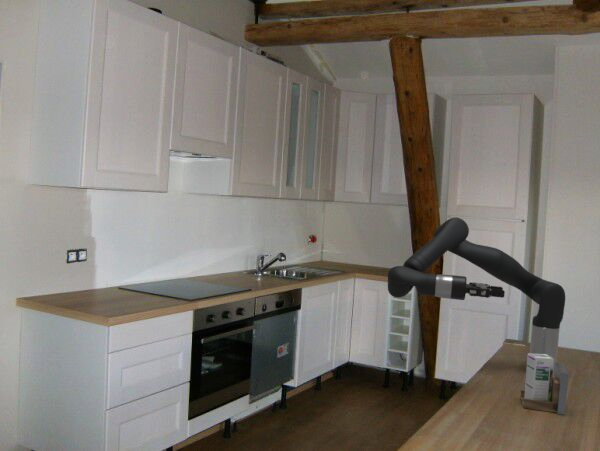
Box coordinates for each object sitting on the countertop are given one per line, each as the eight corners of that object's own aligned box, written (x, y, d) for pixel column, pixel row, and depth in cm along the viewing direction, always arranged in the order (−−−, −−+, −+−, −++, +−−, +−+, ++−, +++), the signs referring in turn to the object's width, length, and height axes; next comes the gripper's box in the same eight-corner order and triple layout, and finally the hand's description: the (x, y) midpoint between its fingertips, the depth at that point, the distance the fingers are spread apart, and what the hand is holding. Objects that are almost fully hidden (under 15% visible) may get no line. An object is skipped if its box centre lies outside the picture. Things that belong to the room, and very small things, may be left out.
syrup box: (531, 405, 190) (536, 357, 189) (523, 399, 196) (527, 352, 195) (550, 406, 190) (554, 358, 189) (541, 400, 196) (545, 353, 195)
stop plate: (551, 401, 197) (554, 363, 197) (558, 402, 197) (561, 363, 196) (557, 413, 186) (561, 372, 185) (564, 414, 185) (568, 373, 185)
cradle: (520, 397, 199) (522, 370, 198) (551, 402, 196) (554, 374, 196) (523, 407, 188) (526, 379, 188) (556, 412, 186) (559, 383, 186)
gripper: (451, 277, 197) (506, 282, 194) (451, 273, 211) (502, 277, 207) (449, 301, 198) (504, 307, 194) (449, 295, 212) (500, 300, 208)
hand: (503, 292), depth 201 cm, fingers open, 8 cm apart
